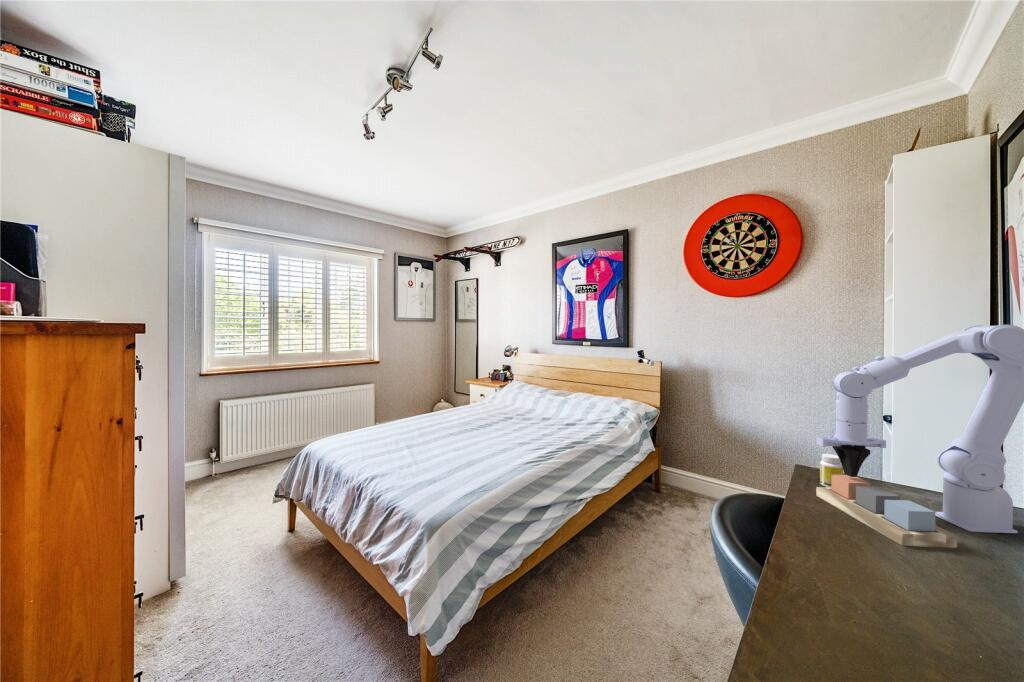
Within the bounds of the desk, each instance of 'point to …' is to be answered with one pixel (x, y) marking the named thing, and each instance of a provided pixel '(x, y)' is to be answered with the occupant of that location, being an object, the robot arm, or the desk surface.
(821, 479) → the supplement bottle
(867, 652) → the desk surface
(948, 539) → the board
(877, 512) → the grey block
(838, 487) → the button terracotta
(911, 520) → the light blue block
